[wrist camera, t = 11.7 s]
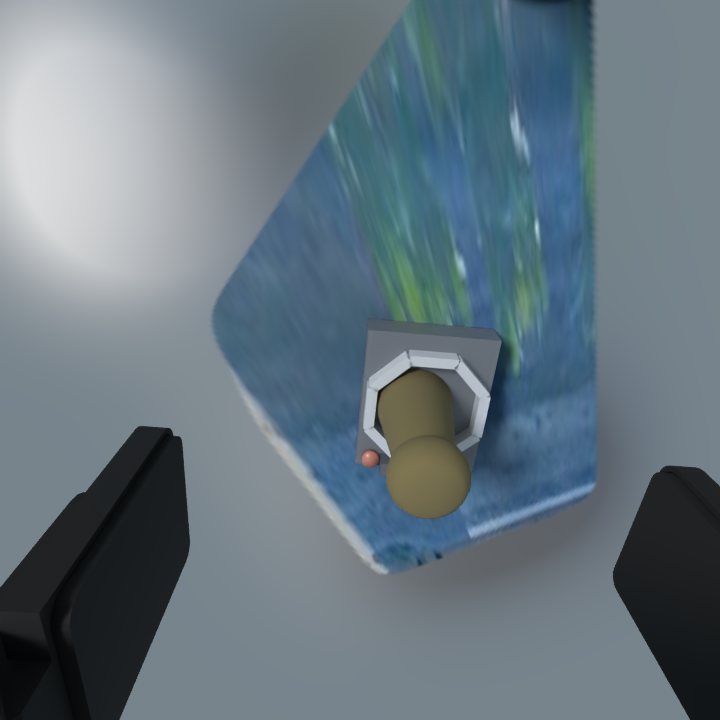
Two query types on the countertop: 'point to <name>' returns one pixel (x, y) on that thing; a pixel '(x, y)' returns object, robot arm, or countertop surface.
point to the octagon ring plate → (435, 354)
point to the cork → (422, 445)
